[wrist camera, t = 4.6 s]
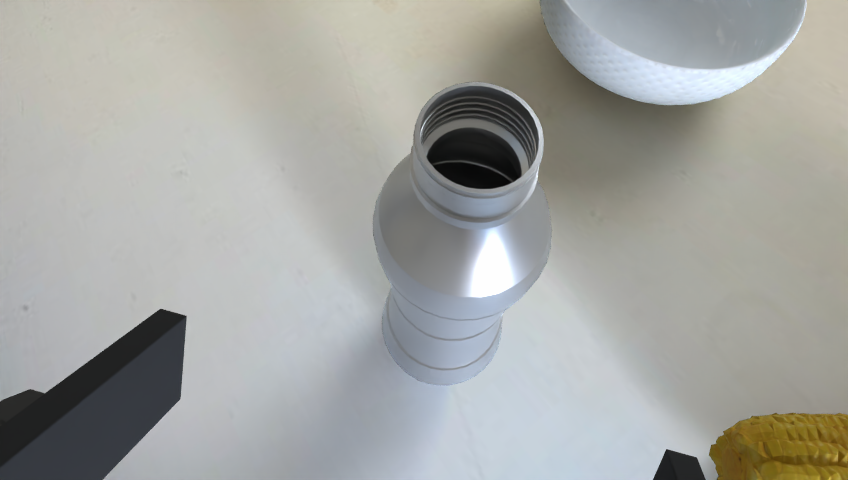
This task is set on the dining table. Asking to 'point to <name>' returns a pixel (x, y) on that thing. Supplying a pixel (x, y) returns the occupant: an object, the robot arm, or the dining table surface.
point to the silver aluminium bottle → (461, 230)
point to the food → (784, 448)
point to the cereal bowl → (672, 43)
